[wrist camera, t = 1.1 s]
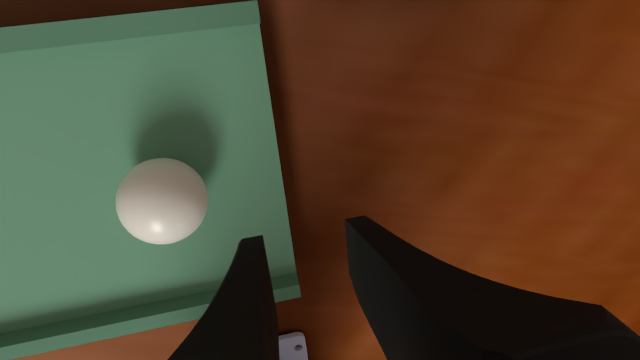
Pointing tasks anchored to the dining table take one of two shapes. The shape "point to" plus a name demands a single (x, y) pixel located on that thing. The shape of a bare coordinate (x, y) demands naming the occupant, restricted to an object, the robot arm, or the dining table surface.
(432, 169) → the dining table surface
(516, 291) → the robot arm
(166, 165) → the ball
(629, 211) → the dining table surface
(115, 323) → the green
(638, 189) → the dining table surface
